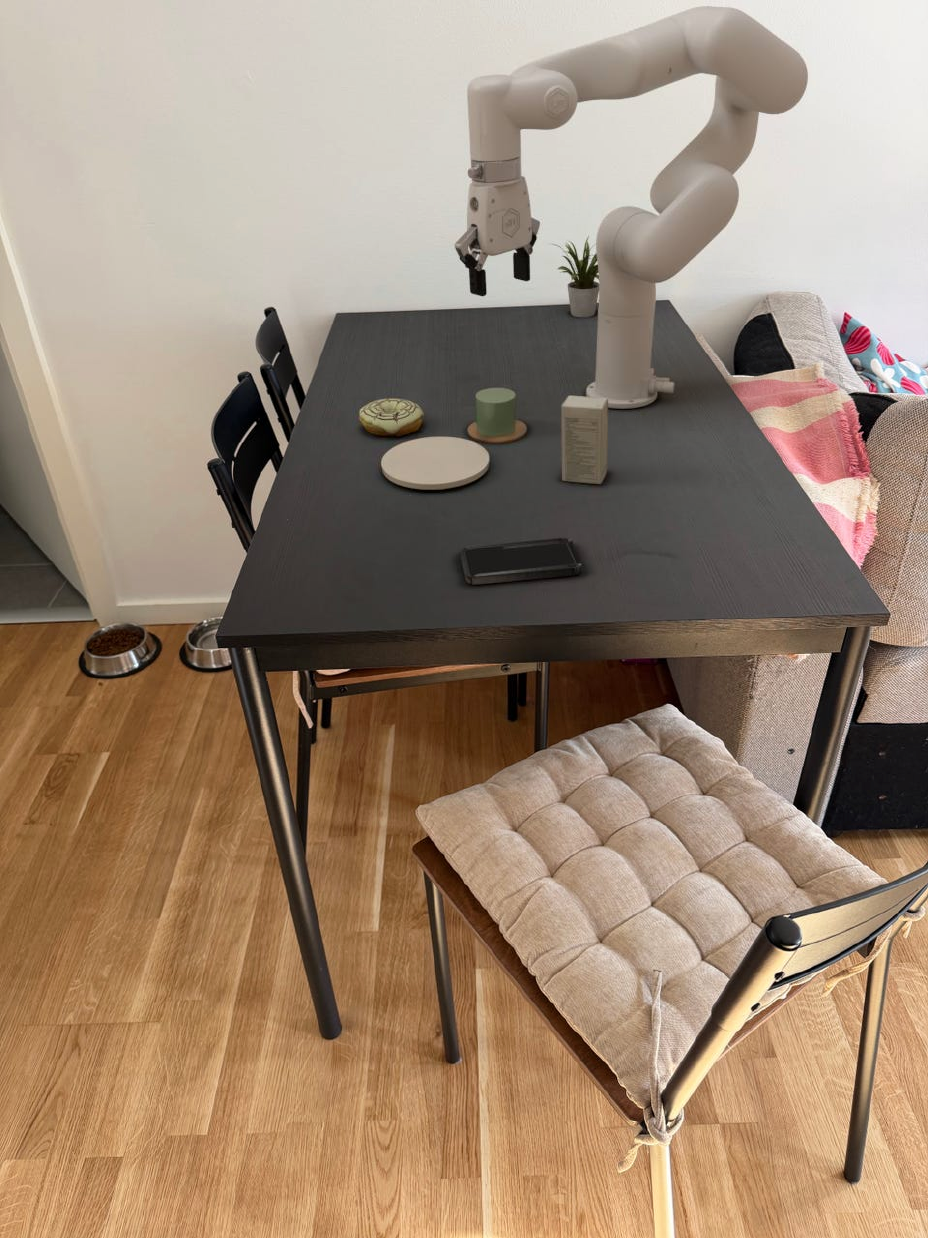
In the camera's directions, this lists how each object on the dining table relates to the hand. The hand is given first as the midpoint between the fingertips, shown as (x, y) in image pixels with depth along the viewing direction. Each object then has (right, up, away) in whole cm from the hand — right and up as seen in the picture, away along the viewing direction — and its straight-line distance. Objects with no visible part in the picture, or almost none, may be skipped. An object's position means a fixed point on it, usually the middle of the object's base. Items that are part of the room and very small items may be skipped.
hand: (500, 286), depth 152 cm
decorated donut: (-18, -20, +11) cm, 30 cm away
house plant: (+19, +14, +58) cm, 63 cm away
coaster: (0, -21, +8) cm, 23 cm away
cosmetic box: (+12, -32, -7) cm, 35 cm away
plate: (-10, -29, -2) cm, 31 cm away
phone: (+1, -46, -27) cm, 53 cm away
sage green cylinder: (0, -21, +8) cm, 23 cm away
